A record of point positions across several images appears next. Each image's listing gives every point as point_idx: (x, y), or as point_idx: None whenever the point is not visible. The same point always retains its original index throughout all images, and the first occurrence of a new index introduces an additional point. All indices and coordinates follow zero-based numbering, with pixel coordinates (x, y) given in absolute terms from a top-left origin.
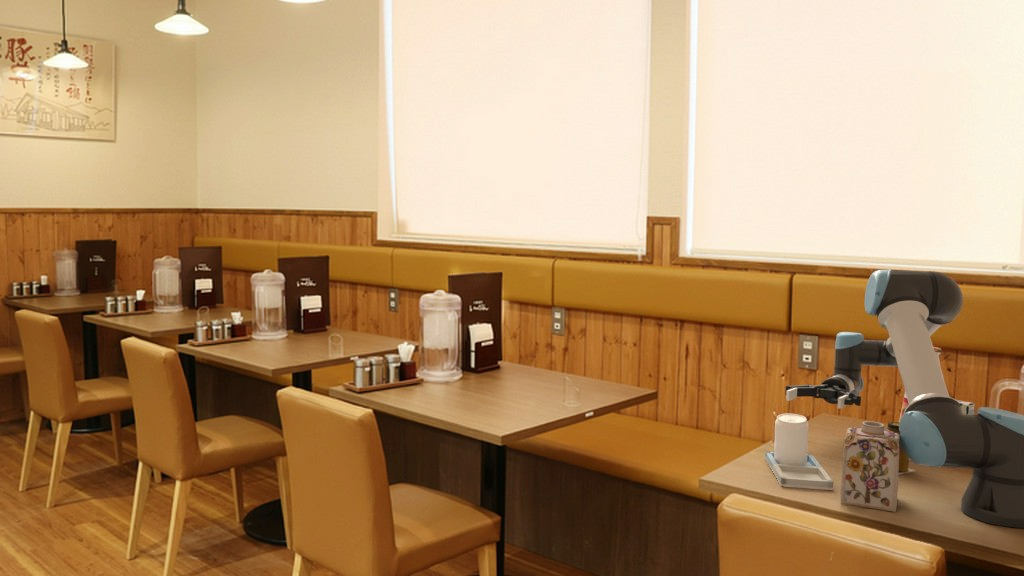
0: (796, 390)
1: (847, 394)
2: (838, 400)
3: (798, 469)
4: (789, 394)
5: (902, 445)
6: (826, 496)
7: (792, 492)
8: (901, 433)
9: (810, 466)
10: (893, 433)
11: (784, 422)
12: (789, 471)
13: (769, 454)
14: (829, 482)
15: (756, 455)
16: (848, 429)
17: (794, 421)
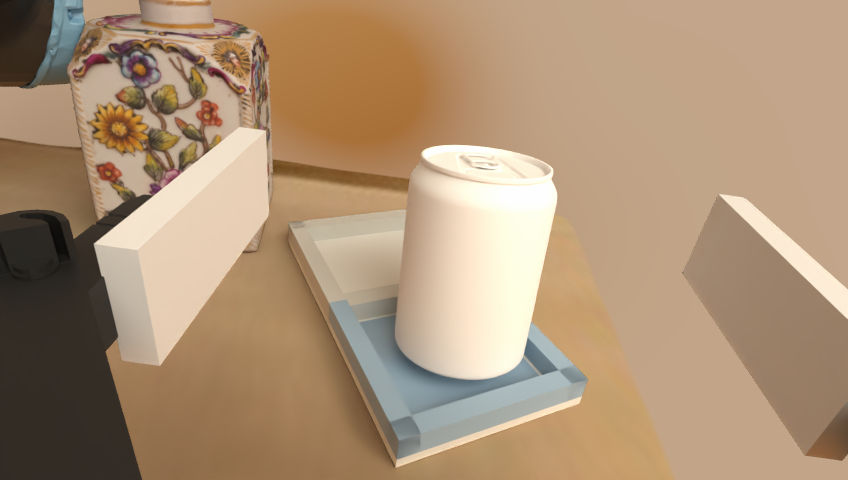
0: (843, 356)
1: (63, 324)
2: (262, 150)
3: None
4: (709, 229)
5: None
6: (304, 214)
7: (381, 211)
8: (82, 11)
9: (370, 297)
10: (108, 17)
11: (492, 151)
12: None
13: (550, 351)
14: (299, 223)
15: (636, 432)
16: (251, 35)
17: (462, 154)
